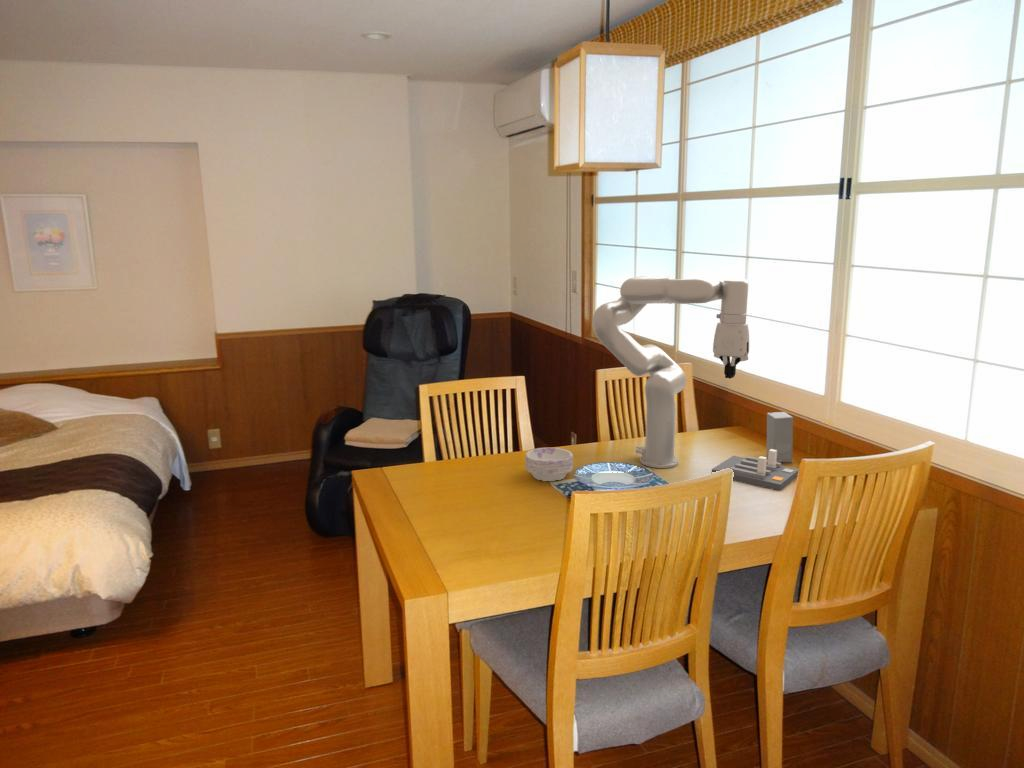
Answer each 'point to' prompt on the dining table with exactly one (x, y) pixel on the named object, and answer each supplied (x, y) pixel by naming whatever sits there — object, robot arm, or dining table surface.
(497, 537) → the dining table surface
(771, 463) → the breaker handle
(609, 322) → the robot arm
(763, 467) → the block
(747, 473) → the breaker panel
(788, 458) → the skincare box
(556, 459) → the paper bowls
